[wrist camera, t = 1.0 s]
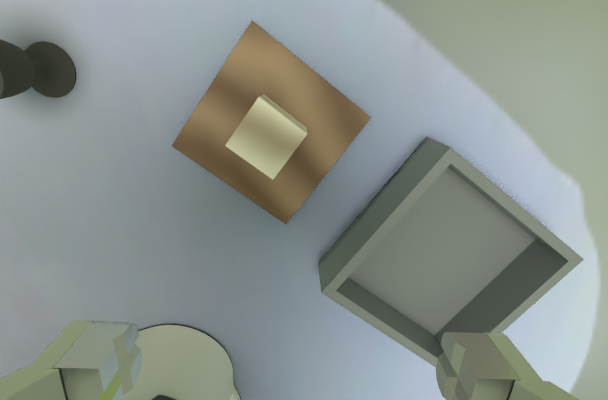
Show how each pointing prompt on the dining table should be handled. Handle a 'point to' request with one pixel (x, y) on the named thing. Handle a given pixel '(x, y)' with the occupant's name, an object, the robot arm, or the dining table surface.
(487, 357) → the robot arm
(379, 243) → the bin
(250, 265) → the dining table surface
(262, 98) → the cream block
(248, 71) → the walnut board
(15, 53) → the sundae
